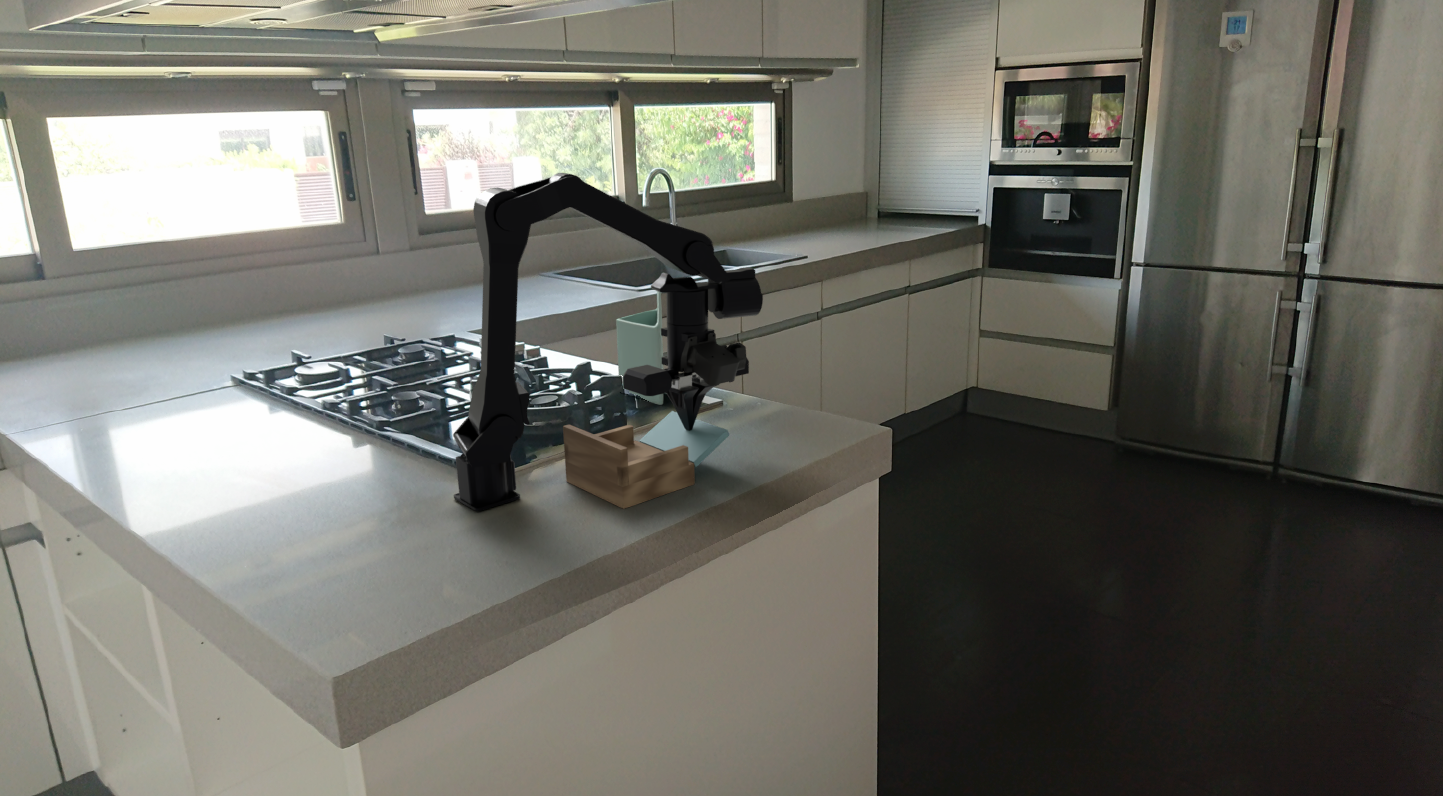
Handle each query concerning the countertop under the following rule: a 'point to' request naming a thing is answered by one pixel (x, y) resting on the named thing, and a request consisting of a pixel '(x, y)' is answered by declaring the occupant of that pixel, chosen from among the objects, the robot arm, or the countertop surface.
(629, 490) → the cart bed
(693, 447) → the panel
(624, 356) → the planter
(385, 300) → the countertop surface
